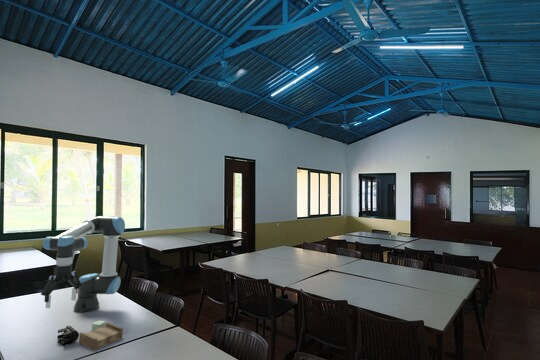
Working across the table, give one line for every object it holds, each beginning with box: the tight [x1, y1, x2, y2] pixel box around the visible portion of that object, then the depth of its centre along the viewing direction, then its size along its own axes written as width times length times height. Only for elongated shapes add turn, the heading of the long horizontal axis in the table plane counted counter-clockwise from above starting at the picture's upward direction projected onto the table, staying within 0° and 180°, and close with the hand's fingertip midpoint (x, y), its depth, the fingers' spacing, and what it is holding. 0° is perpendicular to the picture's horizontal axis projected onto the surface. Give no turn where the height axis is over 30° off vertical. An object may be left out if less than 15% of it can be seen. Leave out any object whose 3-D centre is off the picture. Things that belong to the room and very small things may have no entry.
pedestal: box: [78, 322, 124, 351], centre depth 166 cm, size 16×14×5 cm
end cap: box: [57, 325, 80, 347], centre depth 164 cm, size 10×7×7 cm
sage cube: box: [91, 320, 107, 331], centre depth 177 cm, size 5×5×5 cm
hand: (61, 304), depth 164 cm, fingers open, 13 cm apart
